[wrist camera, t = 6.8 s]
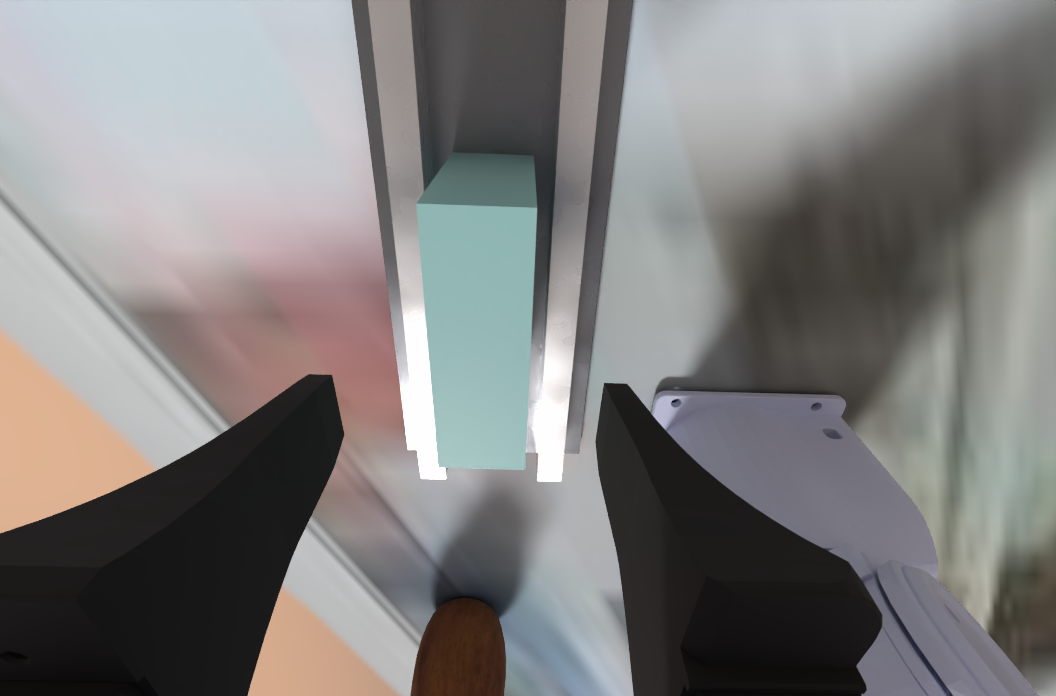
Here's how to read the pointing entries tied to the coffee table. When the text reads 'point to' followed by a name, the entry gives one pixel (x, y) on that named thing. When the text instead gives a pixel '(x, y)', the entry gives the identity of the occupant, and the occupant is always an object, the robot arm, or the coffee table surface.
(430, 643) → the wooden figurine
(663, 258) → the coffee table surface
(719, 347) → the coffee table surface
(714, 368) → the coffee table surface
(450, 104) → the track
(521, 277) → the door panel
